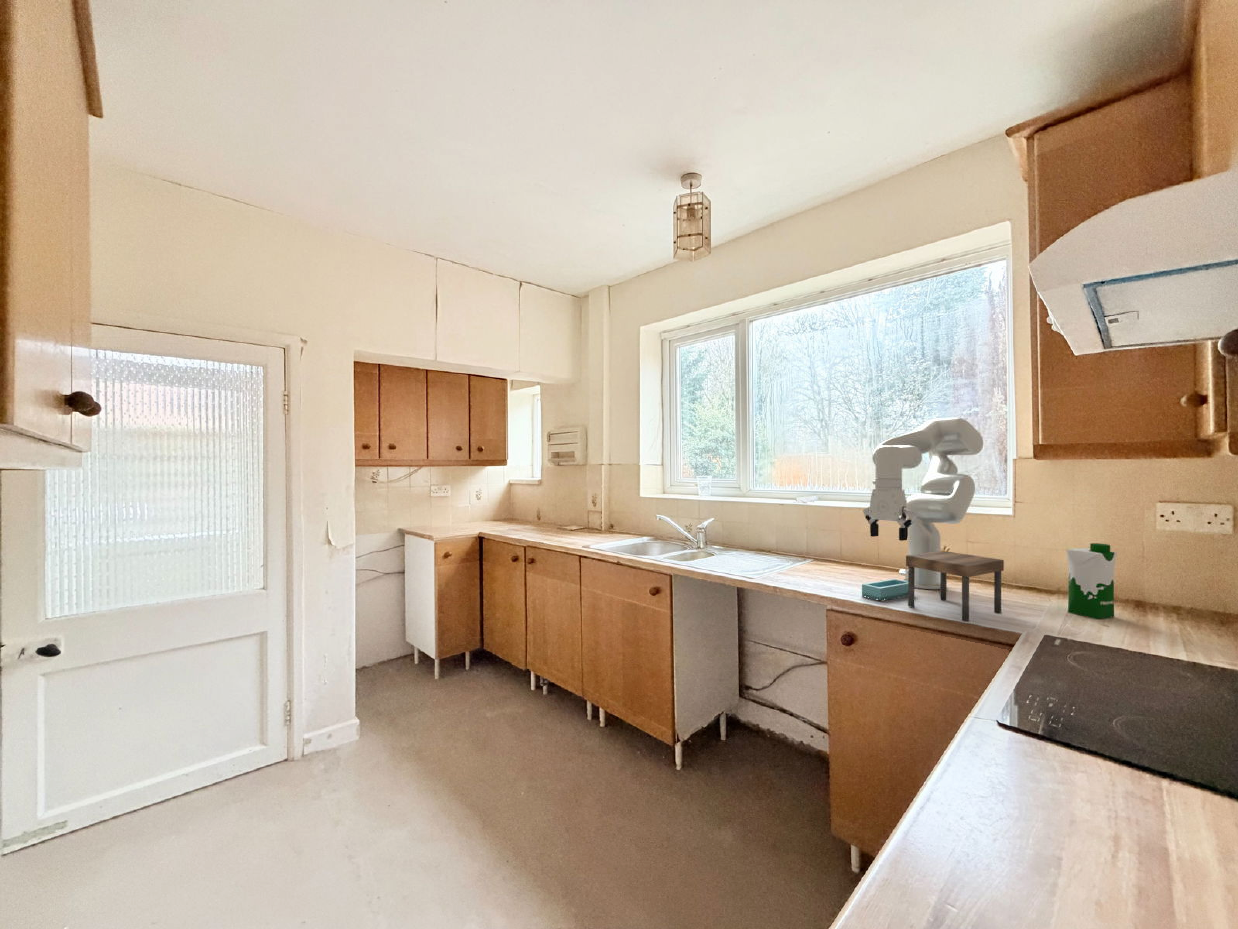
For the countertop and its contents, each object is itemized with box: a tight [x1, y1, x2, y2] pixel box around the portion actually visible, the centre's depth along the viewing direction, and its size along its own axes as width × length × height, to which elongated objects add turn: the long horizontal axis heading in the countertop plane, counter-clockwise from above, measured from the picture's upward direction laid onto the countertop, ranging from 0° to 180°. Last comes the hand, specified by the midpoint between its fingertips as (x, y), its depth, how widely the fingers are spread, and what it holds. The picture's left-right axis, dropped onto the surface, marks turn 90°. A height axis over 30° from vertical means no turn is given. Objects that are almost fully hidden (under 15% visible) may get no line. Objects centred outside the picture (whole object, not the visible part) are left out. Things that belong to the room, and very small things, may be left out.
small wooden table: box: [905, 550, 1005, 623], centre depth 147 cm, size 17×18×15 cm
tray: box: [861, 578, 908, 600], centre depth 162 cm, size 6×16×4 cm, turn 118°
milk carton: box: [1066, 542, 1118, 620], centre depth 142 cm, size 9×9×20 cm
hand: (888, 538), depth 162 cm, fingers open, 9 cm apart
